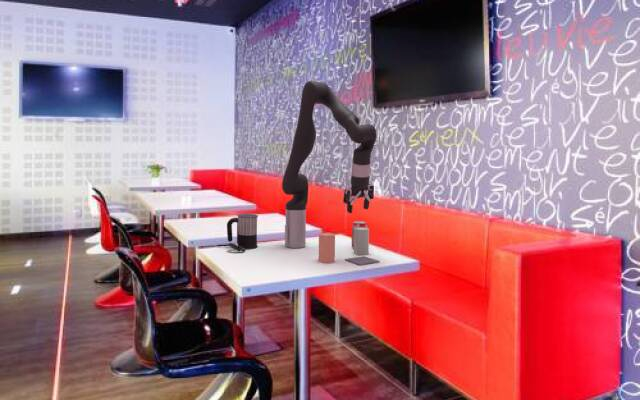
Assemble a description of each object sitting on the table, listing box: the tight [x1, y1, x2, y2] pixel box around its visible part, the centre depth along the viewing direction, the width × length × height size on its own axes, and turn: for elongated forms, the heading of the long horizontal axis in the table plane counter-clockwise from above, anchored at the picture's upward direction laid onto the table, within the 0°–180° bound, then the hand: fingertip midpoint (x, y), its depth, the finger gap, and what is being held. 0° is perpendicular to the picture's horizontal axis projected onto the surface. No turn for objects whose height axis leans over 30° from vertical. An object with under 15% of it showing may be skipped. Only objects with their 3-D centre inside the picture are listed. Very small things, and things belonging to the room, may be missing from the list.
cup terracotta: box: [318, 232, 336, 264], centre depth 201 cm, size 6×6×11 cm
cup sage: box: [353, 227, 370, 256], centre depth 216 cm, size 6×6×11 cm
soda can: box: [351, 220, 368, 249], centre depth 227 cm, size 7×7×12 cm
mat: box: [344, 255, 381, 267], centre depth 202 cm, size 10×10×1 cm
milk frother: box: [226, 213, 259, 253], centre depth 222 cm, size 14×16×15 cm
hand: (357, 210), depth 208 cm, fingers open, 8 cm apart
